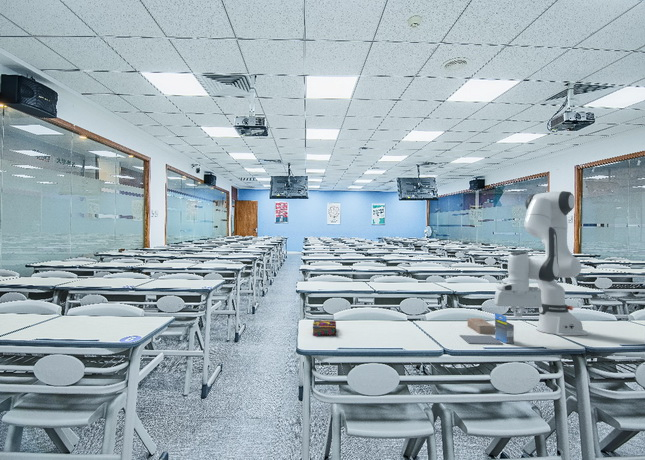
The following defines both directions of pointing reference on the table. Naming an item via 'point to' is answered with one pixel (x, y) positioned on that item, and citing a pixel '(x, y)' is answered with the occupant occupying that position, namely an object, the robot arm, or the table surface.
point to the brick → (481, 326)
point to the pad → (480, 339)
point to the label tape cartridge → (503, 330)
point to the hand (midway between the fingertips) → (517, 316)
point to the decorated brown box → (324, 327)
